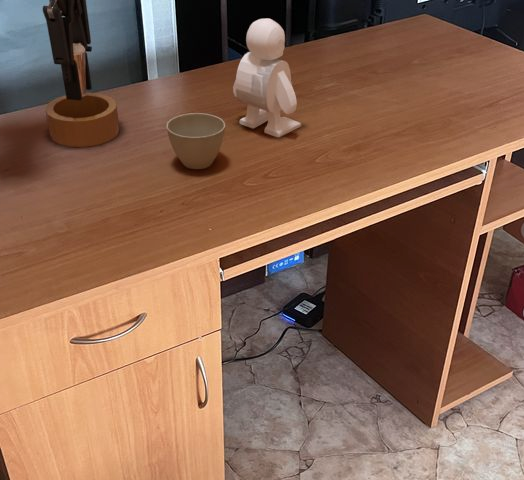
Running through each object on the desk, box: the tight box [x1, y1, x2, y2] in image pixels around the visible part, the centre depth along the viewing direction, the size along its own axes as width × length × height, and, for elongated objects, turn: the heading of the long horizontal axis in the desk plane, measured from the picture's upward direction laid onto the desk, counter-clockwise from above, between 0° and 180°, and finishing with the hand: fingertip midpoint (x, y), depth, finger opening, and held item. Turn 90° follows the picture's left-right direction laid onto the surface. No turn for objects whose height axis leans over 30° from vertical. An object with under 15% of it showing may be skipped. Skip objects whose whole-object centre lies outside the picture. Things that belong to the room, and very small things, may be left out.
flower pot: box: [165, 112, 226, 170], centre depth 136 cm, size 10×10×7 cm
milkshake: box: [73, 43, 87, 98], centre depth 140 cm, size 4×5×10 cm
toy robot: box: [232, 18, 302, 138], centre depth 143 cm, size 14×9×20 cm, turn 51°
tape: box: [44, 92, 120, 148], centre depth 146 cm, size 13×13×5 cm
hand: (79, 93), depth 143 cm, fingers closed on milkshake, 4 cm apart
